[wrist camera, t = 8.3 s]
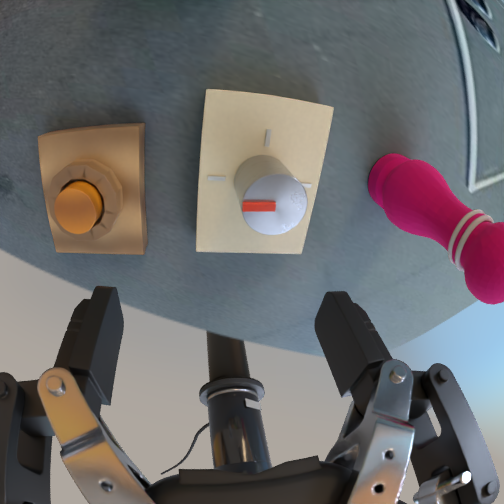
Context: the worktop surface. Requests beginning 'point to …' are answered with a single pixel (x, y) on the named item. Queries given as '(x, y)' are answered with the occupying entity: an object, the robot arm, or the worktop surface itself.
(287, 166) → the dimmer panel
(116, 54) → the worktop surface
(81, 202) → the light button
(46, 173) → the switch block
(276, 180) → the dimmer knob
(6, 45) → the worktop surface
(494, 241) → the pepper mill
